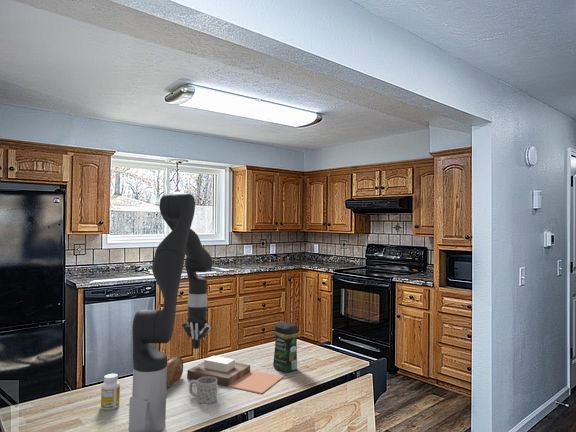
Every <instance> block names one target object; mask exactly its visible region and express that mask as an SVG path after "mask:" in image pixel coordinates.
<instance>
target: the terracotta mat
mask: <svg viewBox="0 0 576 432" xmlns="http://www.w3.org/2000/svg"><path fill="white" fill-rule="evenodd" d="M284 376H285V375H280V374H279V375H278V374H274V373H269V372H263V371H259V370H250V372H249V373H248V374H246V375H245V376H243V377H241V378H240V379H238V380H237V381H235V382H233V383H232V384H230V385H229V386H228V387H227V388H232V389H237V390H242V391H245V392H250V393H251V392H252V393H255V394H261V395H263V394H264V393H266V392H267V391H268V390H269V389H270V388H272V387H273V386H275V385H277V383H278V382H280V380H282V379H283V378H284Z"/></svg>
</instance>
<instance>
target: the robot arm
mask: <svg viewBox="0 0 576 432" xmlns="http://www.w3.org/2000/svg"><path fill="white" fill-rule="evenodd" d="M158 207H159V211H160V215H161V217H162V219H163V221H165V224H167V226H168V227H169V229H170V230H171V231H170V232H169V233H168V235H166V236H165V238H164V239H162V240H161V242H160V243H159V244H158V246H157V247H156V249H155V252H154V256H153V261H152V265H151V271H152V274H153V277H154V280H155V282H156V284H157V285H158V288H159V289H160V292H161V294H162V299H163V307H162V309H139V310H138V311H136V312H135V314H134V316H133V320H132V333H131V335H132V363H133V366H132V369H133V370H132V396H130V397H129V406H128V407H129V409H128V432H161V431H162V430H164V429H165V427H166V421H167V420H166V417H167V413H166V412H167V411H166V410H167V388H166V386H167V361H168V356H167V355H166V354H165V353H163V352H161V351H160V350H157V349H155V348H154V347H152V346H151V345H150V344H168V343H169V342H170V341H171V340H172V336H173V334H174V330H175V329H174V328H175V324H176V323H175V321H176V314H177V313H176V312H177V304H178V294H179V289H180V288H179V287H180V283H181V278H182V273H183V270H184V266H185V271H186V275H187V279H188V297H187V320H186V322H183V323H182V327H183V329H184V331H185V333H186V335H187V336H188V338H191V339H192V340H191V341H192V344H191V345H192V348H193V349H194V350H198V349H199V348H200V347H201V340H202V339H204V338H206V336H207V335H208V334H209V332H210V331H211V330H212V328H213V327H212V325H209V324H208V321H207V316H208V280H207V278H205V277H202V276H199V275H198V273H209V271H210V270H211V269H212V268H213V258H212V256H211V254H210V253H209V252H208V250H206V249H205V247H204V246H203V245H202V242H201V240H200V237H199V235H198V234H197V233H196V232H195V230H193V229H192V224H193V221H194V216H195V212H196V200H195V196H194V195H193V194H191V193H189V192H182V193H181V192H179V193H178V192H177V193H167V194H163V195H162V196H161V197H160V200H159V206H158Z"/></svg>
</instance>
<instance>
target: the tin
mask: <svg viewBox="0 0 576 432" xmlns="http://www.w3.org/2000/svg"><path fill="white" fill-rule="evenodd" d="M183 373H184V362H183V358H182V357H180V356H178V357H177V356H176V357H175V356H174V357H171V358H170V359H169V360H168V359H167V386H166V389H170V388H172V387H173V386H174V385H175V384H176V383H177V382H179V381H180V380H181V378H182V376H183Z"/></svg>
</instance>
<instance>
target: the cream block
mask: <svg viewBox="0 0 576 432" xmlns="http://www.w3.org/2000/svg"><path fill="white" fill-rule="evenodd" d="M203 362H204V368H208V369H213V370H218V371H223V372H228V371H230V370H231V369H233V368H235V362H236V359H234V358H228V357H223V356H219V355H218V356H217V355H212V356H210V357H208V358H205V359H204V360H203Z"/></svg>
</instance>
